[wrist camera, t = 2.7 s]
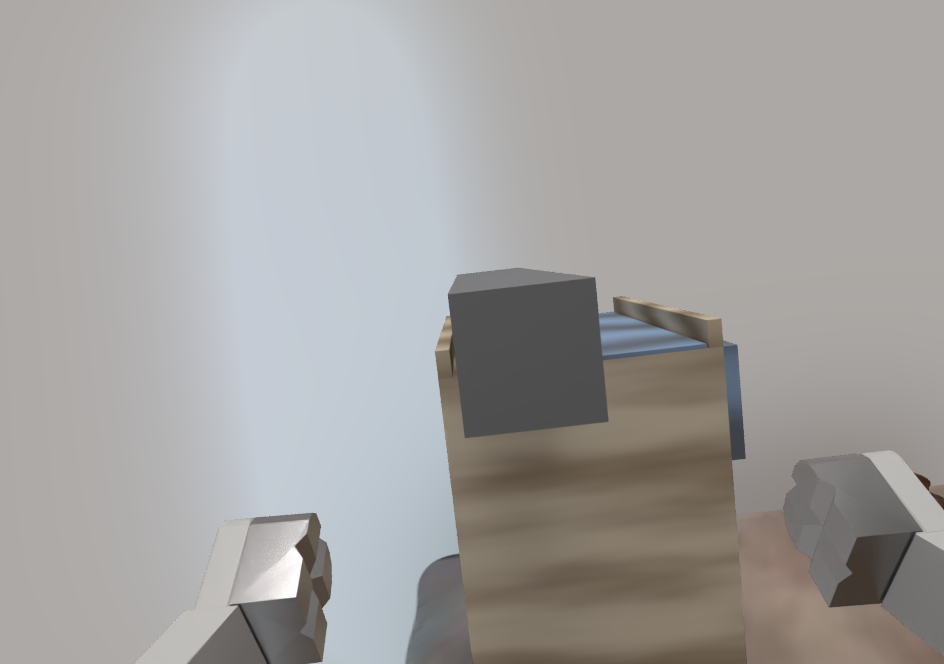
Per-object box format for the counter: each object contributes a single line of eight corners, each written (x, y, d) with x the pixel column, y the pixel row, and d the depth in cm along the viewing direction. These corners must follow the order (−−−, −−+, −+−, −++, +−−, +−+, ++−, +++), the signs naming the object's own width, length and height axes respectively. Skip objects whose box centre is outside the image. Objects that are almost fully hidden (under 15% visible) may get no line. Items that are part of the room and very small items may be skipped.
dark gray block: (464, 335, 44) (457, 274, 44) (524, 328, 44) (517, 267, 44) (464, 438, 18) (447, 294, 18) (608, 421, 18) (595, 277, 18)
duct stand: (776, 893, 31) (735, 317, 28) (504, 924, 31) (434, 351, 28) (662, 662, 49) (630, 295, 46) (489, 682, 49) (446, 316, 46)
